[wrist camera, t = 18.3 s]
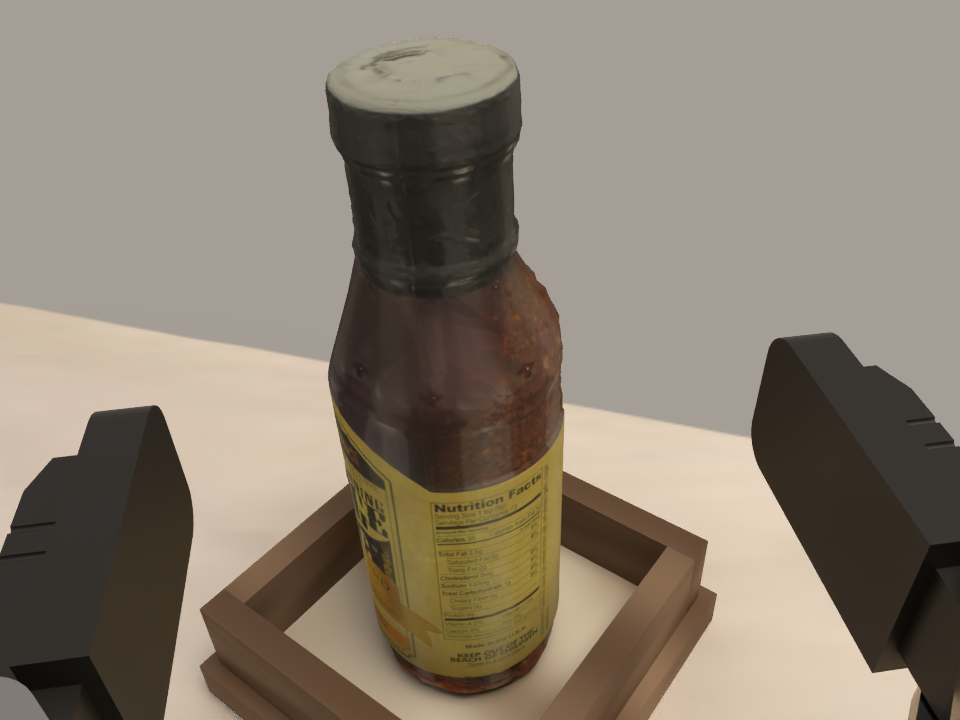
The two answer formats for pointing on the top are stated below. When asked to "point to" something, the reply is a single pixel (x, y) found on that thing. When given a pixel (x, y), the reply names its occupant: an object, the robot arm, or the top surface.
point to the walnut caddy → (426, 708)
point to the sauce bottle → (446, 365)
